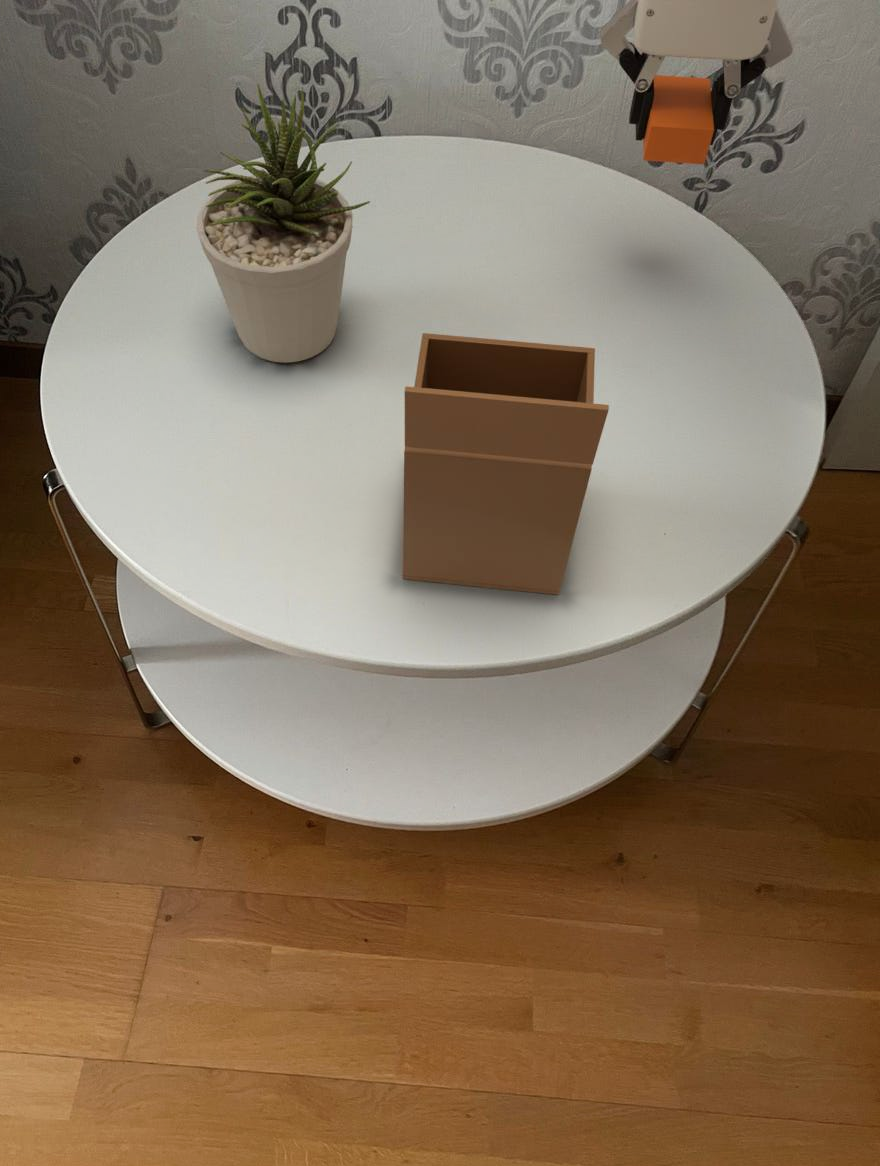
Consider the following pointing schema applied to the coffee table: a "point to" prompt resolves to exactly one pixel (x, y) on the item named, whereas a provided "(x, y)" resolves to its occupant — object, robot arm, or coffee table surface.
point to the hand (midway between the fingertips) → (673, 131)
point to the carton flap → (503, 425)
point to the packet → (679, 121)
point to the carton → (494, 474)
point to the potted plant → (279, 245)
